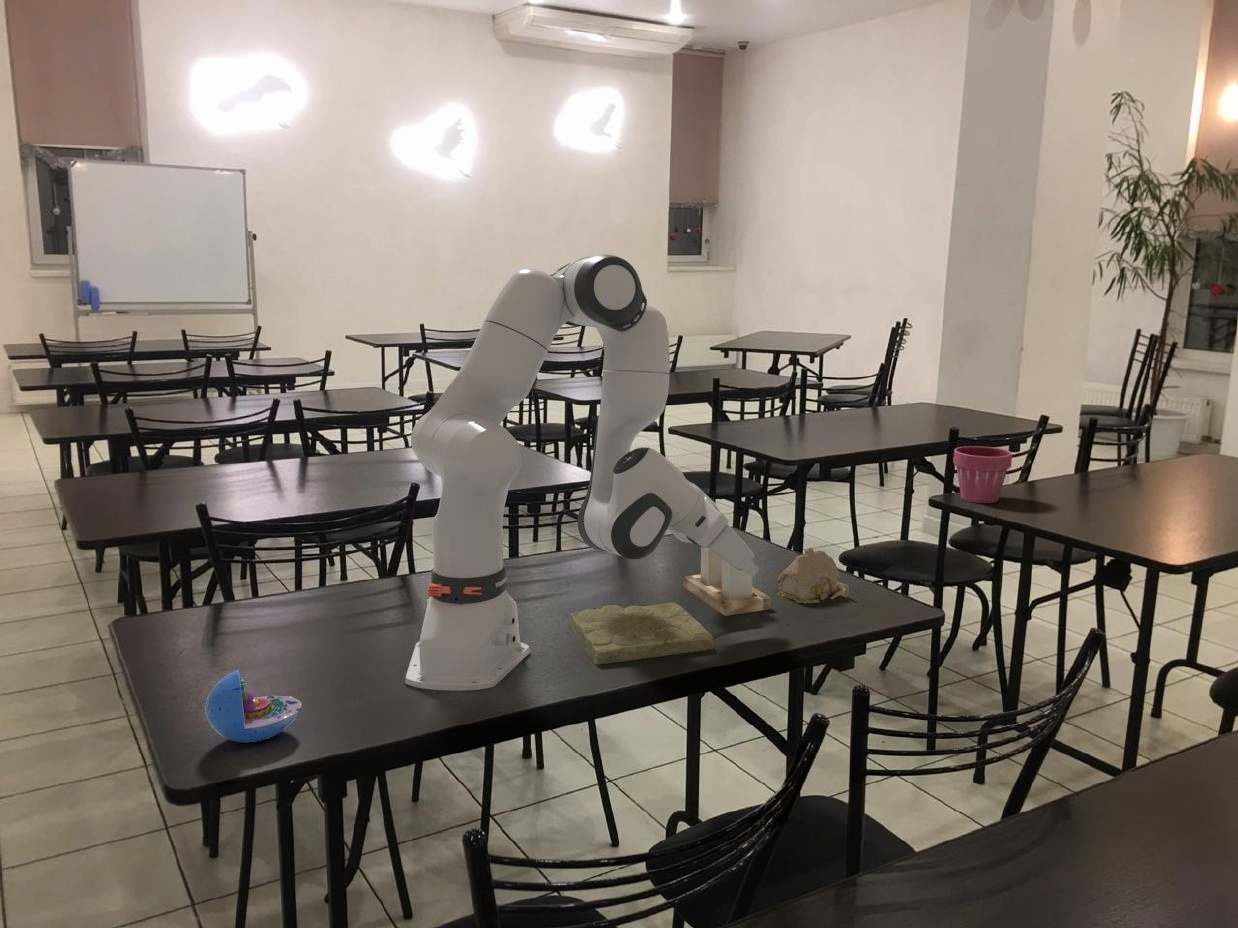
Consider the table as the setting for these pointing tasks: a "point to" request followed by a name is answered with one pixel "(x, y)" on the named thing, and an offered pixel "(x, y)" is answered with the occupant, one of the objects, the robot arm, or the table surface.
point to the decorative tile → (637, 632)
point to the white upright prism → (710, 568)
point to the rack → (724, 606)
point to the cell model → (247, 711)
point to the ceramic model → (811, 578)
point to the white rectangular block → (735, 582)
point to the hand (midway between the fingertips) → (743, 563)
